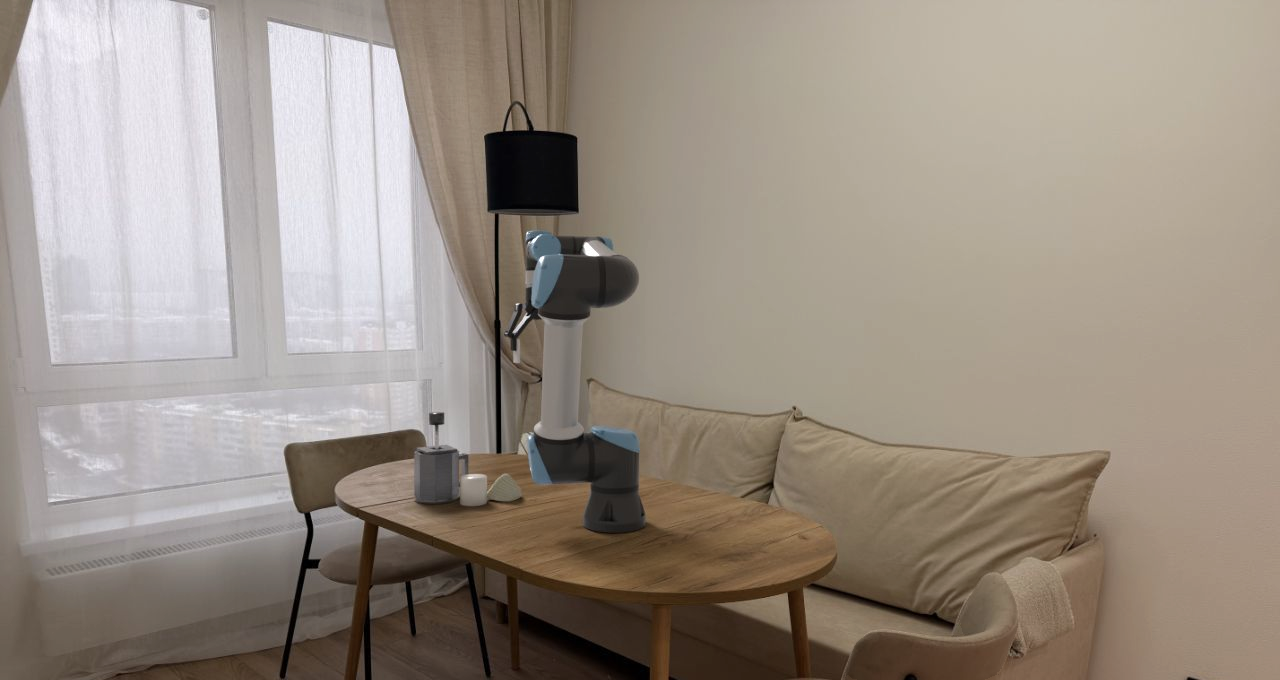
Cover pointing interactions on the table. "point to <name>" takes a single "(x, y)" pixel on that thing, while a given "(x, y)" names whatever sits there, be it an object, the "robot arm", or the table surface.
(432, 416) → the plunger
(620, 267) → the robot arm
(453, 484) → the press
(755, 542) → the table surface
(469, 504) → the white pillar candle
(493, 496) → the seashell
